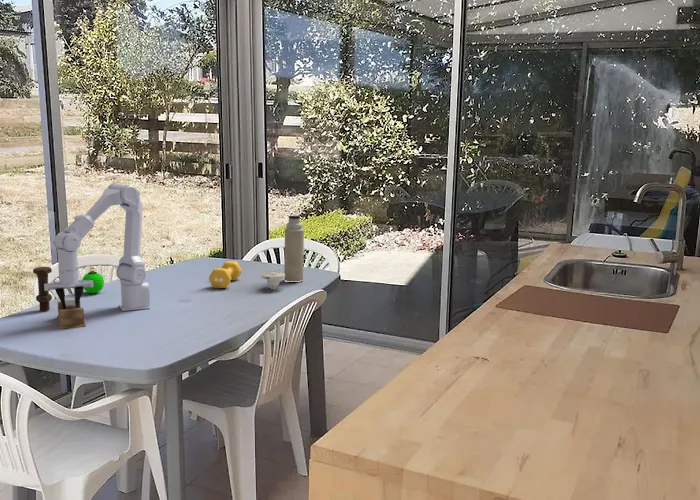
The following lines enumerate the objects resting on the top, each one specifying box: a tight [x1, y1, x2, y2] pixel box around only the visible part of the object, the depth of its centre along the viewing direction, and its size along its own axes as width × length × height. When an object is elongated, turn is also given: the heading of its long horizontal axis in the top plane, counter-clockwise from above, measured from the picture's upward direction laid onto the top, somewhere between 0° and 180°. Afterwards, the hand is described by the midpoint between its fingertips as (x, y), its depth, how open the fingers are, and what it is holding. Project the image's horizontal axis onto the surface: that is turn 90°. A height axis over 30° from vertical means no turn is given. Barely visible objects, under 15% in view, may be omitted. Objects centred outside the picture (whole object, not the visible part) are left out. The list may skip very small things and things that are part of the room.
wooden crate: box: [56, 300, 87, 330], centre depth 214 cm, size 8×14×6 cm, turn 27°
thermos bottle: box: [283, 214, 305, 281], centre depth 276 cm, size 8×8×28 cm
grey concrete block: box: [65, 299, 76, 309], centre depth 213 cm, size 3×6×6 cm, turn 27°
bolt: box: [32, 266, 53, 312], centre depth 224 cm, size 6×5×15 cm
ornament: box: [81, 266, 105, 294], centre depth 249 cm, size 8×8×10 cm
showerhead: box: [260, 268, 285, 290], centre depth 263 cm, size 9×7×10 cm
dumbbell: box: [208, 260, 243, 289], centre depth 270 cm, size 19×9×8 cm, turn 172°
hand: (70, 309), depth 213 cm, fingers closed on grey concrete block, 3 cm apart
